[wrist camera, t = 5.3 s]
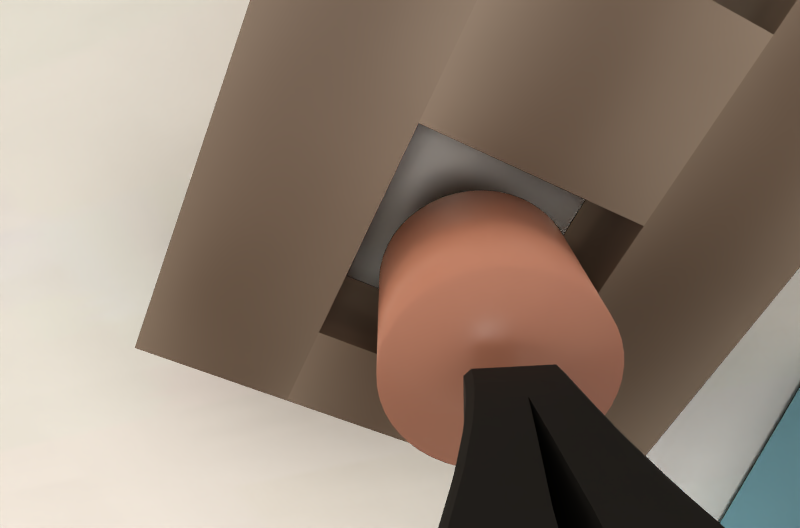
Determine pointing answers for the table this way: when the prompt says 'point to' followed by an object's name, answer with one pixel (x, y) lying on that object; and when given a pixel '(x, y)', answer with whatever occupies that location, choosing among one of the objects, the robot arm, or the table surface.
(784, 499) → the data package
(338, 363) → the brown wooden tray
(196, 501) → the table surface
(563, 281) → the terracotta button
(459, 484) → the robot arm
